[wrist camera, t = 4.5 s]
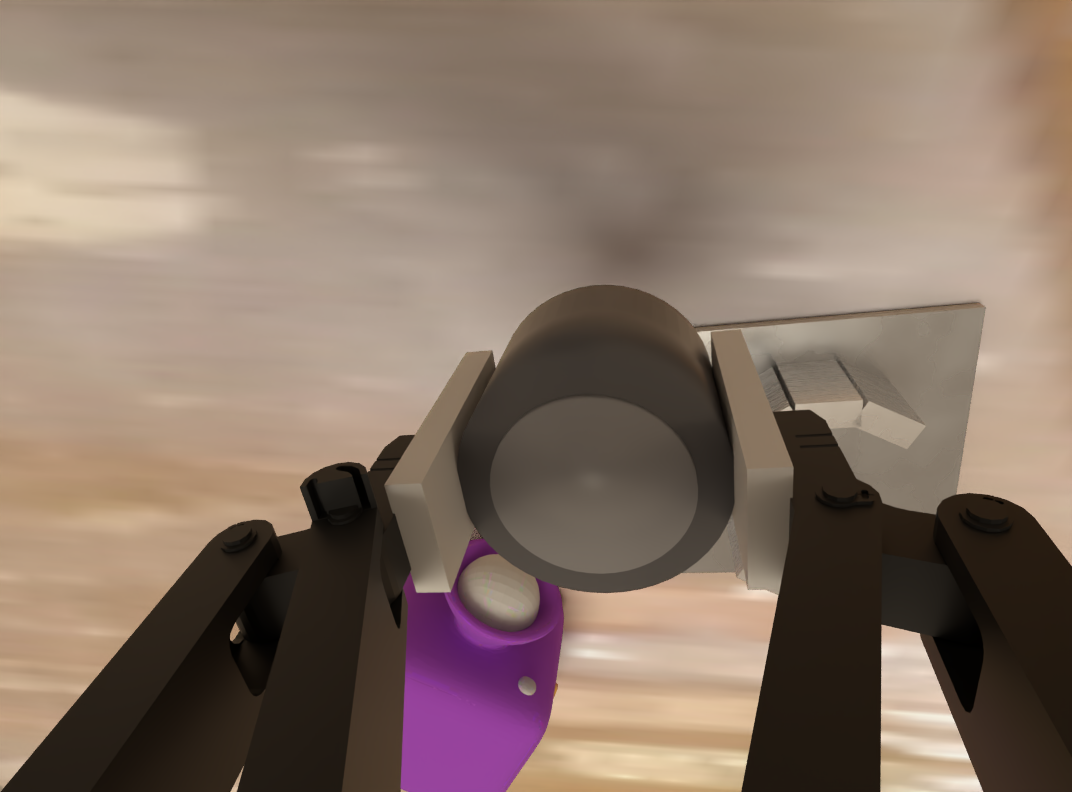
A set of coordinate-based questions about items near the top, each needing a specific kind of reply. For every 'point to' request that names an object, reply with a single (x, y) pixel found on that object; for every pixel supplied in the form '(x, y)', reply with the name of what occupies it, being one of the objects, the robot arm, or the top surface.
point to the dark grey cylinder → (600, 445)
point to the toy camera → (478, 675)
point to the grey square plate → (871, 397)
